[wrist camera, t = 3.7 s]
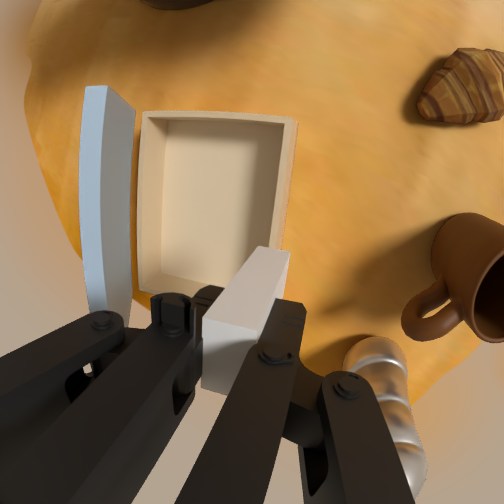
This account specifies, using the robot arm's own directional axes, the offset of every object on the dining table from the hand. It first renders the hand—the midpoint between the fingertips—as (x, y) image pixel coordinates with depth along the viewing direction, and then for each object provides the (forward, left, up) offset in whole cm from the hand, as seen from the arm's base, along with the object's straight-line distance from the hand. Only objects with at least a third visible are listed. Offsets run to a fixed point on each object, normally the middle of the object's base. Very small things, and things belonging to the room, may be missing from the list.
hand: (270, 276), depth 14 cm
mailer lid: (0, -10, -2) cm, 10 cm away
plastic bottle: (+12, +10, -12) cm, 20 cm away
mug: (+1, +14, -12) cm, 19 cm away
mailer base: (0, -7, -12) cm, 14 cm away
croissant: (-15, +14, -13) cm, 24 cm away
